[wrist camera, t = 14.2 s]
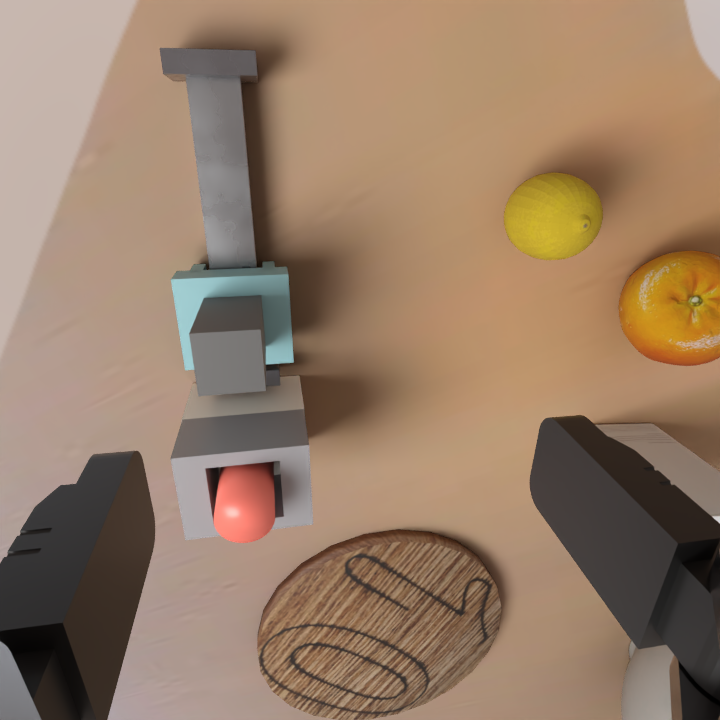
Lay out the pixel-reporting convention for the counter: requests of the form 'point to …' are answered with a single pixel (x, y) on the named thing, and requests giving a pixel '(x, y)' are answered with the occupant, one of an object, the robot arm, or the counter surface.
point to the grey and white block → (243, 452)
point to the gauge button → (245, 502)
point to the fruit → (674, 308)
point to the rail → (221, 152)
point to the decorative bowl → (647, 684)
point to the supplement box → (672, 462)
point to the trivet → (378, 625)
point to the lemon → (553, 216)
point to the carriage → (233, 325)
